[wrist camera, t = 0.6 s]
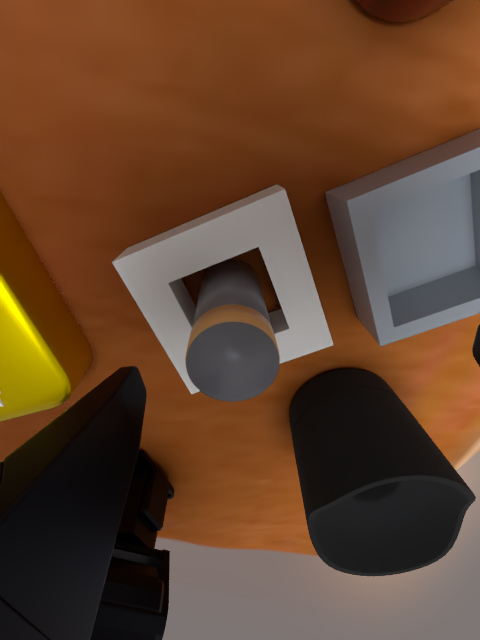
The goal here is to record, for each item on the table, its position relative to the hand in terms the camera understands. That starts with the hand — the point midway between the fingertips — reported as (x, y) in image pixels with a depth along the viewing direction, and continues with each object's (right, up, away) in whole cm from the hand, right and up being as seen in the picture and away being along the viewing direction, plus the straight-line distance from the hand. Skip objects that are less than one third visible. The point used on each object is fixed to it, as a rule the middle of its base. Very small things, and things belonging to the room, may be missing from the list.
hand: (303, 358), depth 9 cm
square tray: (+9, +7, +12) cm, 17 cm away
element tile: (-21, +2, +14) cm, 25 cm away
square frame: (-2, +3, +13) cm, 14 cm away
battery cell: (-2, +3, +13) cm, 14 cm away
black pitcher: (+7, -6, +19) cm, 21 cm away
